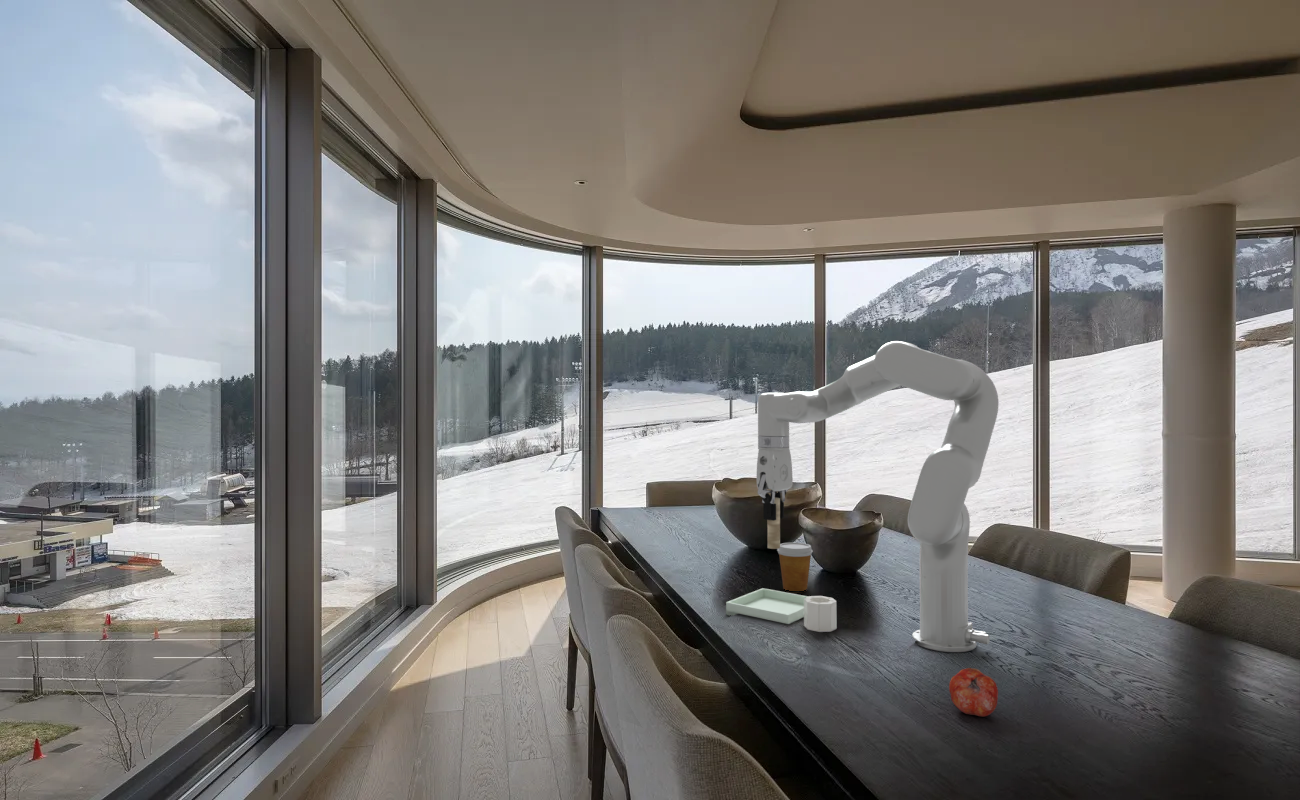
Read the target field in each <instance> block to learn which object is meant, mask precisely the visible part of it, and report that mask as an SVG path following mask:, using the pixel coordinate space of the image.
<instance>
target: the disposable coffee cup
mask: <svg viewBox="0 0 1300 800" xmlns="http://www.w3.org/2000/svg"><path fill="white" fill-rule="evenodd" d="M776 551H777V553H778V555H779V563H780V571H781V579H782V587H783V588H782V589H783V590H784V589H785V590H784V591H786V590H789V591H804V590H806V589H807V590H808V584H809V583H808V582H809V576H810V575H809V574H810V567H811V566H810V565H811V556H812V555H813V554H812V553H813V552H814V551H813V549H812V545H811V544H809V543H805V542H803V543H802V542H783V543H780V548H779V549H776ZM807 590H806V591H807ZM789 591H788V592H789ZM804 592H805V591H804Z"/></svg>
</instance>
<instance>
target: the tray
mask: <svg viewBox="0 0 1300 800" xmlns="http://www.w3.org/2000/svg"><path fill="white" fill-rule="evenodd" d="M807 597H809V596H807V595H801V594H797V593H793V592H787V591H786V592H785V591H780V590H775V589H769V588H763V587H762V588H760V589H756V590H755V591H752V592H749V593H746V594H744V595H741V596H739V597H736V598H734V599H731V600H729V601H726V602H725V604H726V605H725V615H726V616H730V615H731V617H733V616H735V615H739V614H740V615H743V616H749V617H753V618H757V619H763V620H767V621H771V622H772V621H773V622H776V623H781V624H786V625H790V624H792V623H794V622H796V621H798V620H800V619H804V598H807Z"/></svg>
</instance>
